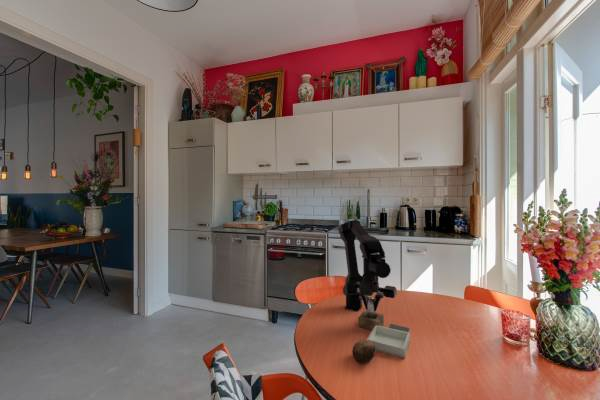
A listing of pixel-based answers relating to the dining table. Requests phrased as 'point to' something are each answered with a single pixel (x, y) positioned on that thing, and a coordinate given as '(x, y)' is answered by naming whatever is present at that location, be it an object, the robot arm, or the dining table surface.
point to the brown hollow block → (370, 321)
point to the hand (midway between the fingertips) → (371, 310)
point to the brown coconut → (363, 351)
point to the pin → (370, 307)
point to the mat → (399, 328)
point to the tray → (390, 341)
